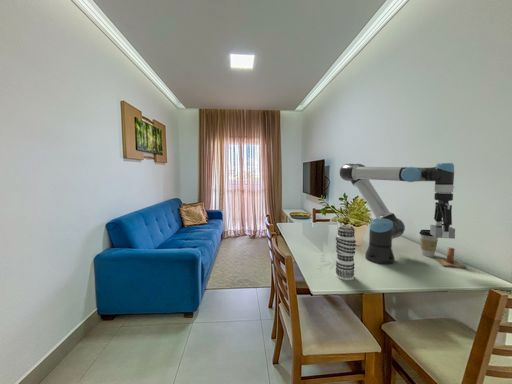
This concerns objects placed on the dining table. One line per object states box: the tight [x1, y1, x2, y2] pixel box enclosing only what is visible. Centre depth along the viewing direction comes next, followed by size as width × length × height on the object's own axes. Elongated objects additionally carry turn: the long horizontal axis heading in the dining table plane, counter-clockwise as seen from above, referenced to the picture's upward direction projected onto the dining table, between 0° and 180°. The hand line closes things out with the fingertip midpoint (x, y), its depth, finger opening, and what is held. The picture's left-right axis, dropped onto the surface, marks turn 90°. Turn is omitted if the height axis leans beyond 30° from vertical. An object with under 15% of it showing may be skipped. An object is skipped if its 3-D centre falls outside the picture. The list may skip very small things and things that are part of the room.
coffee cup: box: [418, 229, 439, 258], centre depth 142 cm, size 10×10×15 cm
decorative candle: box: [335, 224, 357, 281], centre depth 112 cm, size 9×9×25 cm
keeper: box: [434, 247, 467, 269], centre depth 128 cm, size 10×10×9 cm
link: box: [429, 224, 456, 239], centre depth 122 cm, size 8×8×5 cm
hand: (441, 235), depth 122 cm, fingers closed on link, 8 cm apart
